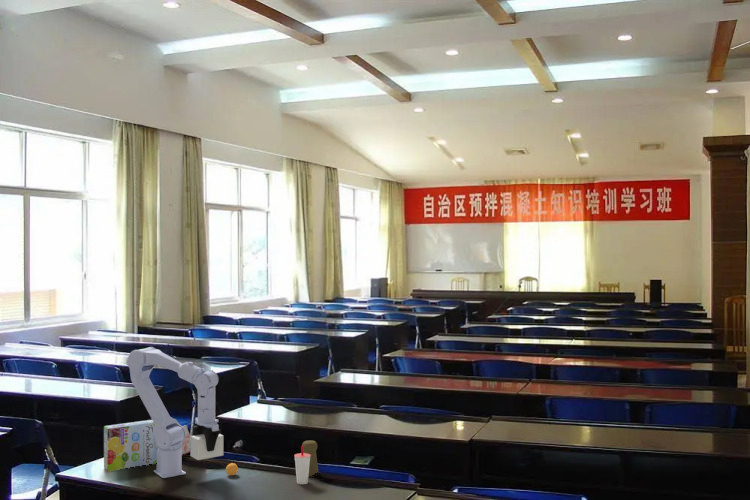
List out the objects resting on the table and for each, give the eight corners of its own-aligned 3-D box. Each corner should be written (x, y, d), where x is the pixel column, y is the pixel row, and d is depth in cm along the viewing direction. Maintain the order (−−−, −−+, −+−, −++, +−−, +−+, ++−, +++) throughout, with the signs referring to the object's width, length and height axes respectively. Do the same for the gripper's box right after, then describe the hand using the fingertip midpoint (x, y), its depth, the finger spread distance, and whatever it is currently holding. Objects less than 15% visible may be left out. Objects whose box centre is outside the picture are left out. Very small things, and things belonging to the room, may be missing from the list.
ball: (223, 475, 231) (223, 463, 231) (234, 472, 233) (234, 461, 234) (228, 477, 228) (229, 465, 228) (240, 475, 230) (240, 463, 230)
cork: (315, 476, 229) (315, 443, 229) (298, 475, 230) (298, 442, 230) (320, 471, 235) (320, 439, 235) (303, 470, 236) (303, 438, 236)
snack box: (164, 458, 251) (164, 417, 251) (168, 462, 246) (169, 420, 246) (103, 468, 239) (103, 425, 239) (107, 472, 234) (107, 428, 234)
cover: (190, 456, 228) (190, 436, 229) (215, 451, 234) (215, 432, 234) (197, 460, 224) (198, 439, 224) (223, 455, 229) (223, 435, 230)
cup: (295, 486, 219) (295, 448, 220) (292, 481, 225) (293, 444, 225) (312, 484, 221) (312, 447, 221) (309, 479, 226) (309, 443, 226)
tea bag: (171, 455, 254) (171, 428, 255) (181, 451, 261) (181, 424, 261) (179, 456, 253) (180, 429, 254) (190, 451, 260) (190, 425, 260)
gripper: (227, 409, 226) (227, 451, 226) (208, 402, 237) (208, 442, 237) (207, 412, 222) (206, 455, 221) (189, 405, 233) (189, 445, 233)
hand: (206, 448), depth 229 cm, fingers closed on cover, 6 cm apart
